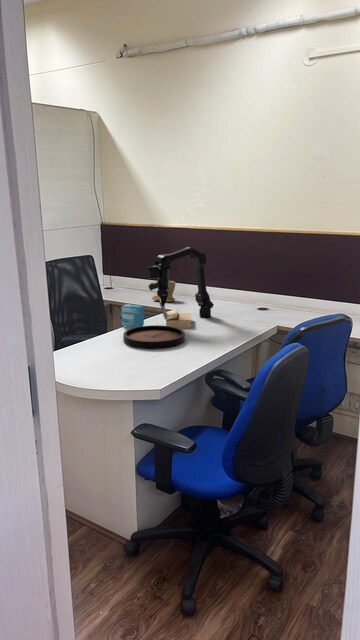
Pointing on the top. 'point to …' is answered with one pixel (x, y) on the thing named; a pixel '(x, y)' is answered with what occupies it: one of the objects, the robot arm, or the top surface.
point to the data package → (132, 315)
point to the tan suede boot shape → (171, 290)
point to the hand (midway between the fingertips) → (163, 304)
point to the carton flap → (168, 314)
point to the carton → (180, 321)
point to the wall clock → (154, 337)
